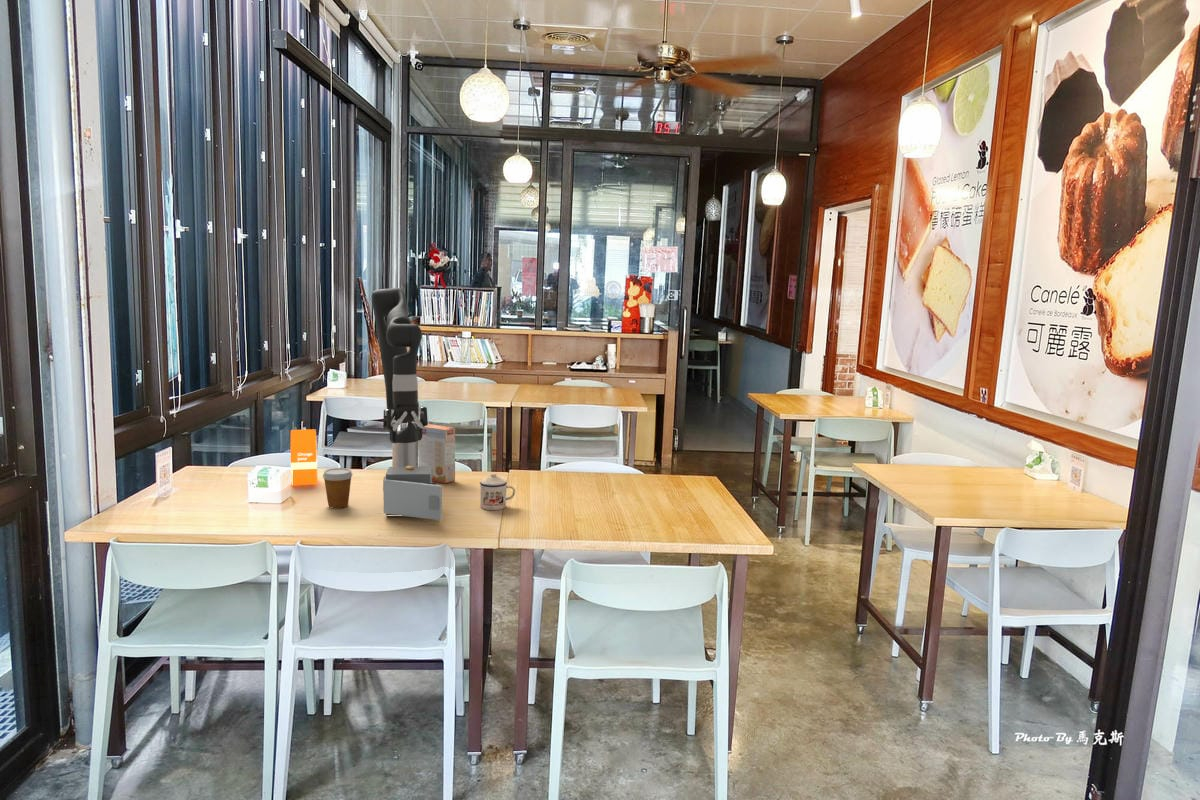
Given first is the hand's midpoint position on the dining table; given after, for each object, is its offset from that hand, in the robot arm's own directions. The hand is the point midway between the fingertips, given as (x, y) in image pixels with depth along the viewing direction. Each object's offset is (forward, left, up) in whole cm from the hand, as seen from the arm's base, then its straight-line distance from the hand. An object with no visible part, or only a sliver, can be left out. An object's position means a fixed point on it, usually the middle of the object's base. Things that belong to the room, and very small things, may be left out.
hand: (406, 441), depth 242 cm
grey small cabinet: (-14, 0, -27) cm, 30 cm away
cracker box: (-55, +7, -27) cm, 62 cm away
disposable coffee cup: (-22, -24, -27) cm, 42 cm away
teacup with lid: (-18, +29, -27) cm, 43 cm away
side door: (-4, +1, -25) cm, 26 cm away
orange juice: (-53, -41, -27) cm, 73 cm away
